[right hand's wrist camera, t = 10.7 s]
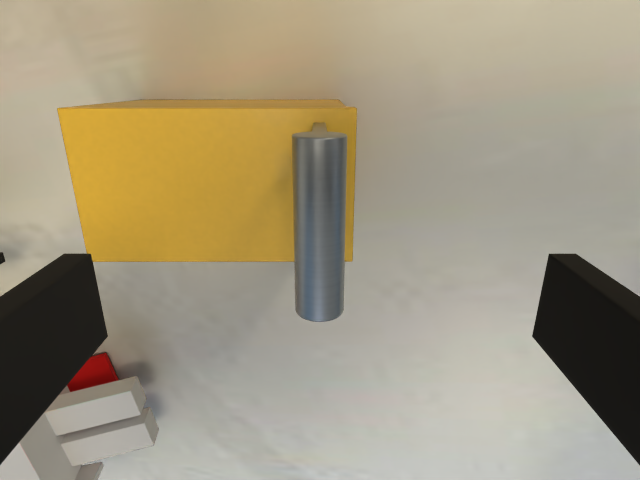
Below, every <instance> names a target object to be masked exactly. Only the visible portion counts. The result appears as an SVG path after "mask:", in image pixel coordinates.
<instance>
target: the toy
mask: <svg viewBox="0 0 640 480" xmlns="http://www.w3.org/2000/svg"><path fill="white" fill-rule="evenodd" d="M145 402H146V396H145V394H144V391H143V389H142V387H141V384H140V382H139V379H138V377H137V376H134V377H130V378H126V379H122V380H119V379H118V377H117V375H116V373H115V371H114V369H113V366H112V364H111V362H110V360H109V358H108V356H107V354H106V353H103V354H99V355H96V356H92V357H90V358H89V359H88V361H87V362H86V363H85V364H84V365H83V367H82V368H81V369H80V370H79V371H78V373H77V374H76V375H75V376H74V377H73V379H72V380H71V381H70V382H69V383H68V385H67V386H66V387H65V388H64V389H63V391H62V392H61V393H60V394H59V395H58V397H57V398H56V399H55V400H54V401H53V403H52V404H51V405H50V406H49V407H48V409H47V410H46V411H45V412H44V413H43V415H42V416H41V417H40V418H39V419H38V421H37V422H36V423H35V424H34V425H33V427H32V428H31V429H30V430H29V431H28V432H27V434H26V435H25V436H24V437H23V438H22V440H21V441H20V442H19V443H18V444H17V446H16V447H15V448H14V449H13V450H12V452H11V453H10V454H9V455H8V456H7V458H6V459H5V460H4V461H3V462H2V464H1V465H0V480H97V479H98V477H99V475H100V473H101V471H102V469H103V463H102V462H99V463H93V464H88V465H82V464H84V463H88V462H92V461H96V460H100V459H103V458H107V457H111V456H115V455H119V454H123V453H127V452H131V451H135V450H138V449H142V448H146V447H150V446H154V443H155V440H156V436H157V433H158V430H159V428H158V425H157V423H156V421H155V418H154V416H153V413H152V411H151V408H150V407H148V408H144V409H143V407H144V404H145Z"/></svg>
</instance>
